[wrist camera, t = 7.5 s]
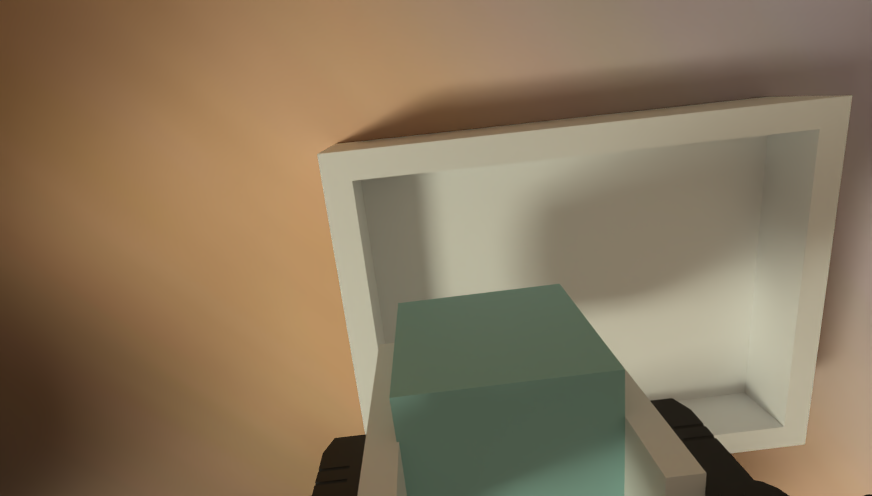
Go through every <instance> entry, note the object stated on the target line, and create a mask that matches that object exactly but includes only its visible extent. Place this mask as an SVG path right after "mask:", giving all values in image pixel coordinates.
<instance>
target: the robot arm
mask: <svg viewBox="0 0 872 496" xmlns="http://www.w3.org/2000/svg"><path fill="white" fill-rule="evenodd" d="M611 352H612V351H611ZM393 353H394V343H387V344H379V350H378V357H377V364H376V371H375V377H374V384H373V391H372V398H371V405H370V412H369V419H368V426H367V433H366V435H358V436H349V437H340V438H335V439H334V440H333V441H332V442H331V444H330V445H329V446H328V447H327V449H326V450H325V451H324V452H323V455H322V459H321V463H320V467H319V472H318V475H317V478H316V482H315V483H316V485H315V486H314V490H313V494H312V496H407V492H406V486H405V479H404V472H403V466H402V459H401V452H400V446H399V442H397V441H396V435H395V429H394V423H393V417H392V411H391V405H390V399H389V396H390V385H391V374H392V364H393ZM614 356H615V355H614ZM617 360H618V359H617ZM618 361H619V360H618ZM620 364H621V363H620ZM621 365H622V364H621ZM624 369H625V368H624ZM624 496H789V495H787V494H786V493H784V492H783V491H781V490H780V489H778V488H776V487H774V486H771V485H769V484H766V483H764V482H761V481H755V480H753V479H752V477H751V476H750V475H749V474H748V473H747V472H746V471H745V470H744V468H743V467H742V466H741V465H740V464H739V463H738V462H737V461H736V459H735V458H734V457H733V456H732V455H731V454H730V453H729V452H728V451H727V449H726V448H725V447H724V446H723V445H722V444H721V443H720V442H719V440H718V439H717V438H714V435H713V434H712V433H711V431H710V430H709V429H708V428H707V427H706V426H704V425H703V422H702V421H701V420H700V419H699V418H698V417H697V416H696V415H695V414H694V412H693V411H692V410H691V409H689V408H688V407H686V406H684V405H683V404H681V403H679V402H678V401H676V400H674V399H673V398H668V399H659V400H651V401H650V400H649V399H648V398H647V396H646V395H645V394H644V392H643V391H642V390H641V389H640V387H639V386H638V385H637V383H636V382H635V381H634V380H633V378H632V377H631V376H630V375H629V373H628V372H627V371H626V369H625V482H624ZM864 496H872V495H864Z"/></svg>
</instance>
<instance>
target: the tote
mask: <svg viewBox="0 0 872 496" xmlns="http://www.w3.org/2000/svg"><path fill="white" fill-rule="evenodd" d="M852 96H853V95H845V96H768V97H759V98H750V99H741V100H732V101H723V102H714V103H704V104H695V105H686V106H677V107H668V108H659V109H650V110H641V111H631V112H622V113H613V114H604V115H595V116H586V117H577V118H567V119H558V120H549V121H540V122H531V123H522V124H513V125H504V126H494V127H485V128H476V129H467V130H458V131H449V132H440V133H430V134H421V135H412V136H403V137H394V138H385V139H376V140H367V141H357V142H348V143H339V144H334V145H332V146H331V147H329V148H327V149H325V150H324V151H322V152H320V153H318V154H317V156H318V162H319V167H320V173H321V179H322V185H323V191H324V197H325V202H326V208H327V214H328V220H329V226H330V231H331V237H332V243H333V249H334V255H335V261H336V266H337V272H338V278H339V284H340V290H341V296H342V301H343V307H344V313H345V319H346V325H347V331H348V336H349V342H350V348H351V354H352V360H353V365H354V371H355V377H356V383H357V389H358V395H359V400H360V406H361V412H362V418H363V424H364V430H365V435H366V433H367V426H368V419H369V412H370V405H371V398H372V391H373V384H374V377H375V371H376V364H377V357H378V350H379V344H387V343H394V342H395V331H396V321H397V310H398V303H404V302H412V301H420V300H428V299H437V298H445V297H453V296H461V295H470V294H478V293H486V292H494V291H503V290H511V289H519V288H527V287H536V286H544V285H552V284H560V285H561V286H562V287H563V289H564V290H565V291H566V293H567V294H568V295H569V297H570V298H571V299H572V301H573V302H574V303H575V304H576V306H577V307H578V308H579V310H580V311H581V312H582V314H583V315H584V316H585V318H586V319H587V320H588V322H589V323H590V324H591V325H592V327H593V328H594V329H595V331H596V332H597V333H598V335H599V336H600V337H601V339H602V340H603V341H604V343H605V344H606V345H607V346H608V348H609V349H610V350H611V351H612V353H613V354H614V355H615V357H616V358H617V359H618V360H619V362H620V363H621V364H622V366H623V367H624V368H625V369H626V371H627V372H628V373H629V375H630V376H631V377H632V378H633V380H634V381H635V382H636V383H637V385H638V386H639V387H640V389H641V390H642V391H643V392H644V394H645V395H646V396H647V398H648V399H649V400H650V401H651V400H659V399H668V398H673V399H674V400H676V401H678V402H679V403H681V404H683V405H684V406H686V407H688V408H689V409H691V410H692V411H693V412H694V414H695V415H696V416H697V417H698V418H699V419H700V420H701V421H702V422H703V425H704V426H706V427H707V428H708V429H709V430H710V431H711V433H712V434H713V435H714V438H717V439H718V440H719V442H720V443H721V444H722V445H723V446H724V447H725V448H726V449H727V451H728V452H729V453H738V452H747V451H755V450H763V449H771V448H779V447H788V446H796V445H804V444H805V441H806V434H807V426H808V419H809V412H810V404H811V397H812V389H813V382H814V375H815V367H816V360H817V353H818V345H819V338H820V331H821V323H822V316H823V309H824V301H825V294H826V287H827V279H828V272H829V265H830V257H831V250H832V243H833V235H834V228H835V221H836V213H837V206H838V198H839V191H840V184H841V176H842V169H843V162H844V154H845V147H846V140H847V132H848V125H849V118H850V110H851V103H852Z"/></svg>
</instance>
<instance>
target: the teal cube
mask: <svg viewBox="0 0 872 496" xmlns="http://www.w3.org/2000/svg"><path fill="white" fill-rule="evenodd" d="M389 399H390V405H391V411H392V417H393V423H394V429H395V435H396V441H397V442H399V446H400V452H401V459H402V466H403V472H404V479H405V486H406V492H407V496H624V482H625V369H624V367H623V366H622V365H621V364H620V362H619V361H618V360H617V358H616V357H615V356H614V354H613V353H612V352H611V350H610V349H609V348H608V346H607V345H606V344H605V343H604V341H603V340H602V339H601V337H600V336H599V335H598V333H597V332H596V331H595V329H594V328H593V327H592V325H591V324H590V323H589V322H588V320H587V319H586V318H585V316H584V315H583V314H582V312H581V311H580V310H579V308H578V307H577V306H576V304H575V303H574V302H573V301H572V299H571V298H570V297H569V295H568V294H567V293H566V291H565V290H564V289H563V287H562V286H561V285H560V284H552V285H544V286H536V287H527V288H519V289H511V290H503V291H494V292H486V293H478V294H470V295H461V296H453V297H445V298H437V299H428V300H420V301H412V302H404V303H398V310H397V321H396V331H395V342H394V353H393V364H392V374H391V385H390V396H389Z"/></svg>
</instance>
